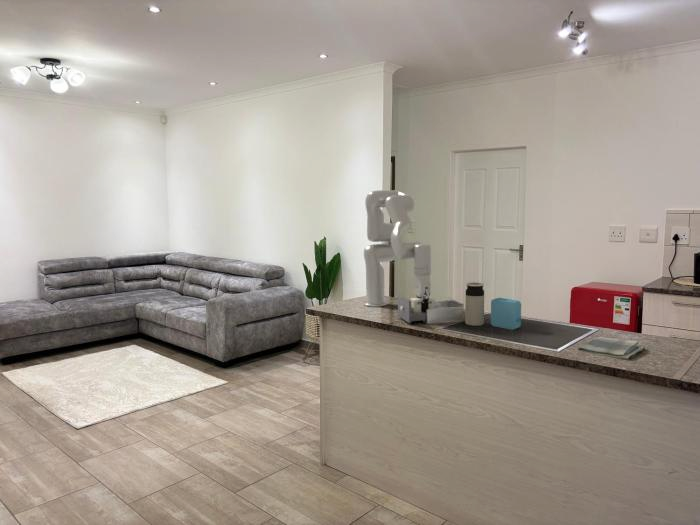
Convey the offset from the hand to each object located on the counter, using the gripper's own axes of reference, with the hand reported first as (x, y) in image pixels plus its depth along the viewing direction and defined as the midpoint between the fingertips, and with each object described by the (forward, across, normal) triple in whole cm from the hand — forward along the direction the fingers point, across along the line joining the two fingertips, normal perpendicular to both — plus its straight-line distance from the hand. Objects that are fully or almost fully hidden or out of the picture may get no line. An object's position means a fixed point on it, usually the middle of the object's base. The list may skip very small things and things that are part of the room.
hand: (422, 309), depth 245 cm
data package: (+5, +23, +29) cm, 37 cm away
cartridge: (+1, 0, 0) cm, 1 cm away
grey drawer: (+4, 0, -1) cm, 4 cm away
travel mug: (+5, +14, +19) cm, 24 cm away
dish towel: (+6, +64, +49) cm, 81 cm away
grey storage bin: (+5, 0, +8) cm, 9 cm away
